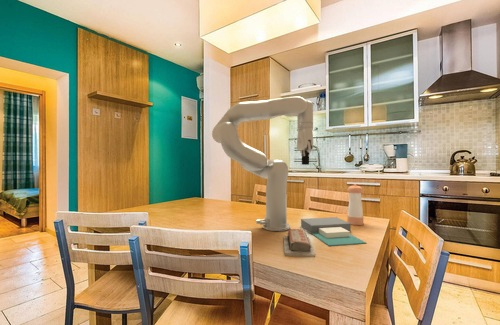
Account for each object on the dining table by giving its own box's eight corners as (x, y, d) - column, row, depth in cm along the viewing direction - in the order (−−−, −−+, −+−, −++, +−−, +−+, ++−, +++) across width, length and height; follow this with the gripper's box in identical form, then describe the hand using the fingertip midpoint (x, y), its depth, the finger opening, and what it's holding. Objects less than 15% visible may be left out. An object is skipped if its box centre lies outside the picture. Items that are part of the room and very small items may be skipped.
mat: (328, 246, 88) (328, 245, 88) (311, 233, 103) (311, 232, 103) (366, 243, 91) (366, 242, 91) (344, 231, 106) (344, 230, 106)
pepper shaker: (359, 221, 123) (358, 183, 123) (366, 225, 116) (366, 185, 116) (344, 221, 123) (344, 183, 123) (351, 225, 116) (351, 185, 116)
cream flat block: (326, 238, 96) (326, 233, 96) (318, 232, 103) (318, 228, 103) (349, 236, 98) (349, 231, 98) (340, 231, 105) (340, 226, 105)
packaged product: (283, 227, 98) (308, 228, 97) (283, 239, 98) (308, 240, 97) (284, 242, 80) (315, 243, 79) (284, 257, 80) (315, 258, 79)
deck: (311, 233, 103) (311, 225, 103) (301, 226, 115) (301, 218, 115) (350, 231, 106) (350, 223, 106) (336, 224, 118) (336, 217, 118)
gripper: (292, 128, 126) (292, 164, 126) (303, 124, 111) (304, 164, 111) (306, 129, 127) (306, 164, 127) (319, 125, 112) (319, 164, 112)
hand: (305, 164), depth 119 cm, fingers closed
